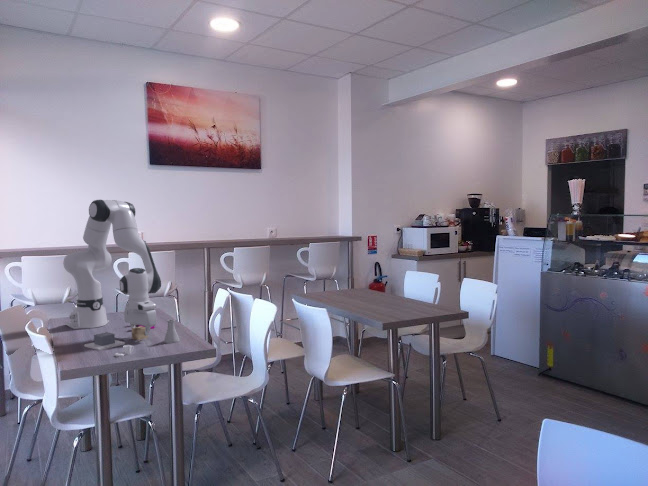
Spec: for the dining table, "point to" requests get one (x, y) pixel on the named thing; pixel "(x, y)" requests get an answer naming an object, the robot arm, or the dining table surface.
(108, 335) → the white platform base
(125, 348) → the teacup and saucer
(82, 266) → the robot arm
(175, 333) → the flask
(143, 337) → the beech block
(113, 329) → the dining table surface
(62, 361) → the dining table surface
